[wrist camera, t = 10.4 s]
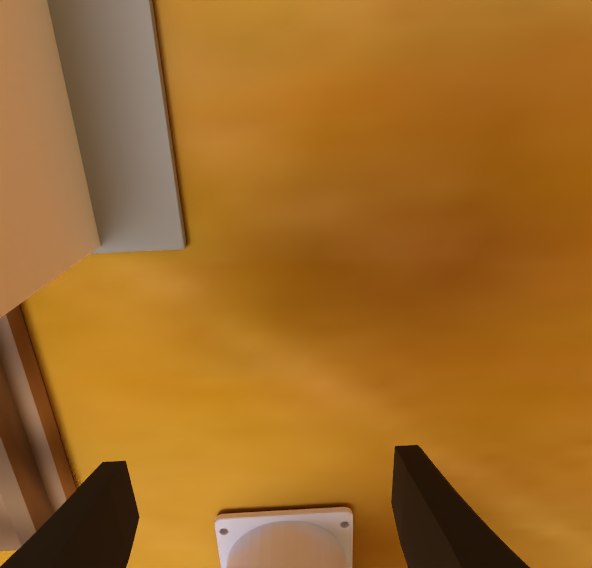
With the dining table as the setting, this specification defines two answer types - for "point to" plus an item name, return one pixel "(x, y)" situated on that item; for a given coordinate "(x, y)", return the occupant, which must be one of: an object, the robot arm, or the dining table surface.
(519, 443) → the dining table surface
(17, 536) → the rack
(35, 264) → the cream rectangular block
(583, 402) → the dining table surface
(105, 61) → the mat
